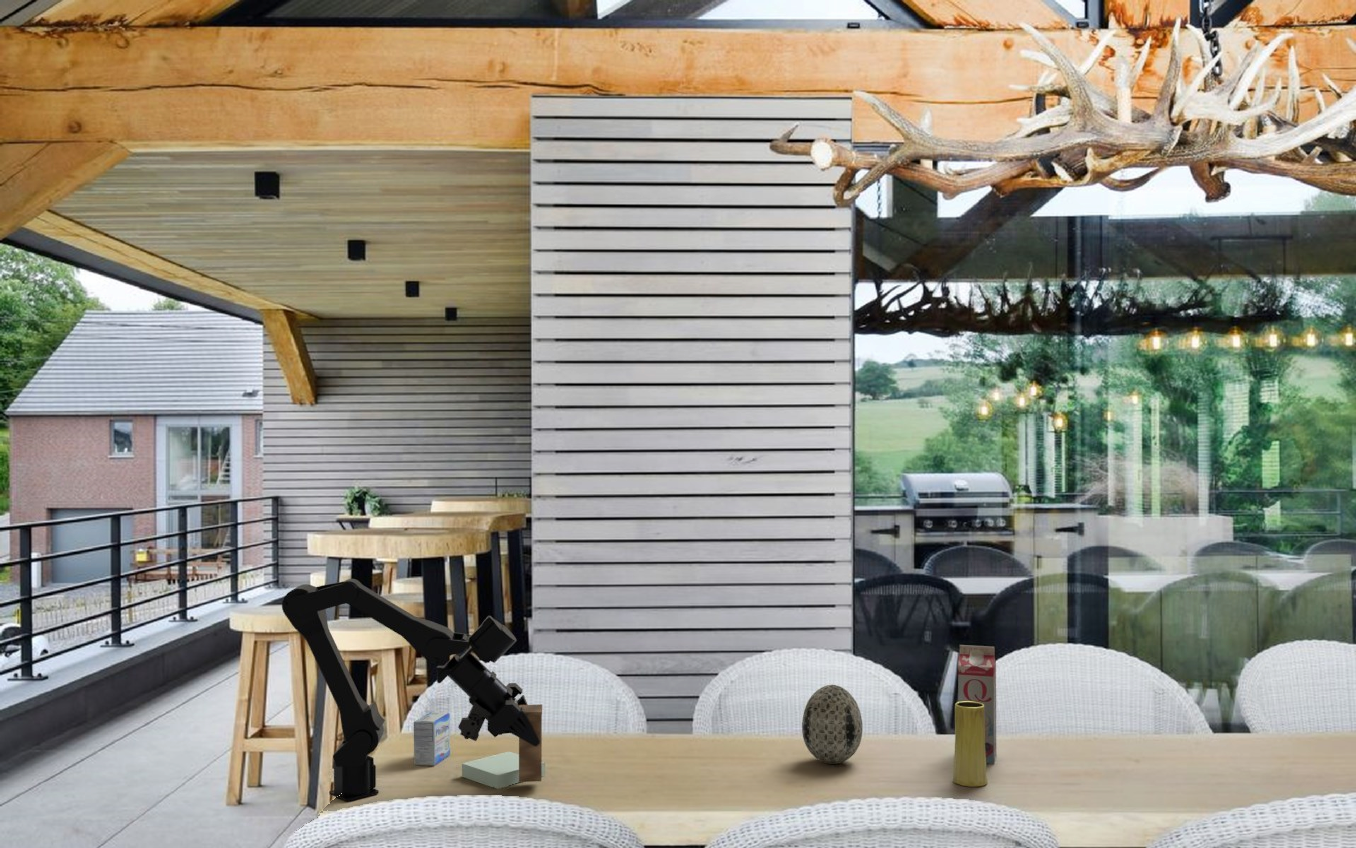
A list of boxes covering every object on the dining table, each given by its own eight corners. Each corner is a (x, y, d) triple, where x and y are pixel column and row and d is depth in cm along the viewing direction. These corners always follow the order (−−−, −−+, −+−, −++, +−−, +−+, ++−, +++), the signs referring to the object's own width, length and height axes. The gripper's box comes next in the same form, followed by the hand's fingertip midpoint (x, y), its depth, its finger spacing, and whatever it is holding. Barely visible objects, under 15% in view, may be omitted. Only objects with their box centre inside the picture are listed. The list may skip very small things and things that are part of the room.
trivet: (497, 789, 212) (497, 775, 212) (462, 776, 220) (462, 763, 220) (545, 775, 220) (544, 762, 220) (508, 764, 228) (508, 751, 228)
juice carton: (994, 764, 226) (993, 650, 226) (958, 761, 228) (958, 648, 228) (996, 754, 232) (995, 643, 232) (962, 752, 234) (961, 642, 234)
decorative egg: (790, 759, 230) (790, 683, 230) (839, 751, 235) (839, 676, 235) (824, 774, 220) (824, 694, 220) (875, 766, 225) (874, 688, 225)
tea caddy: (518, 782, 210) (518, 712, 210) (519, 773, 216) (519, 705, 216) (541, 781, 210) (541, 712, 211) (542, 772, 216) (542, 704, 216)
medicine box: (434, 766, 227) (434, 722, 227) (413, 765, 228) (413, 721, 228) (450, 755, 235) (450, 712, 235) (429, 754, 235) (429, 711, 235)
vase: (962, 775, 219) (961, 699, 219) (993, 781, 215) (992, 703, 215) (947, 783, 214) (946, 705, 214) (978, 789, 210) (978, 710, 210)
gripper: (449, 701, 221) (508, 758, 222) (440, 726, 202) (504, 788, 203) (491, 659, 222) (550, 715, 223) (486, 679, 203) (550, 741, 204)
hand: (538, 740), depth 213 cm, fingers closed on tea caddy, 5 cm apart
